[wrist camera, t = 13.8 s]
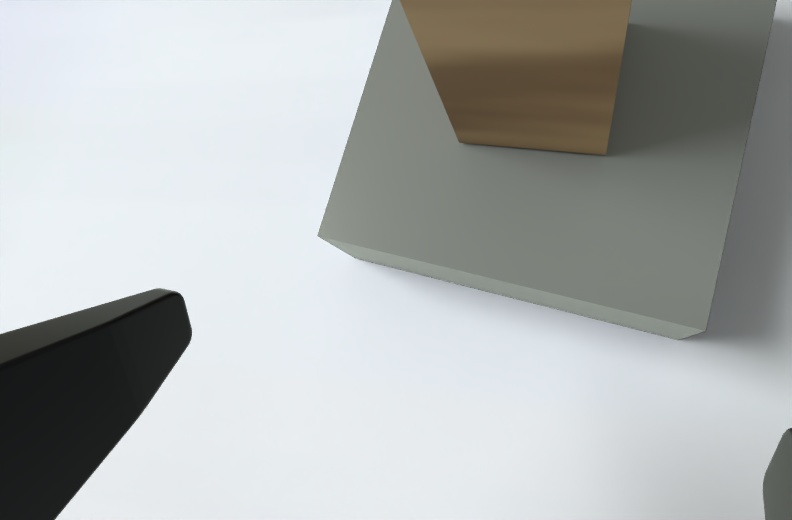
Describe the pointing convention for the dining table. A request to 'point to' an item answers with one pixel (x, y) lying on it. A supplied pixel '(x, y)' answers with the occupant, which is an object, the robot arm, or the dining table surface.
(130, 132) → the dining table surface
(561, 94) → the bronze block
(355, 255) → the gray box
